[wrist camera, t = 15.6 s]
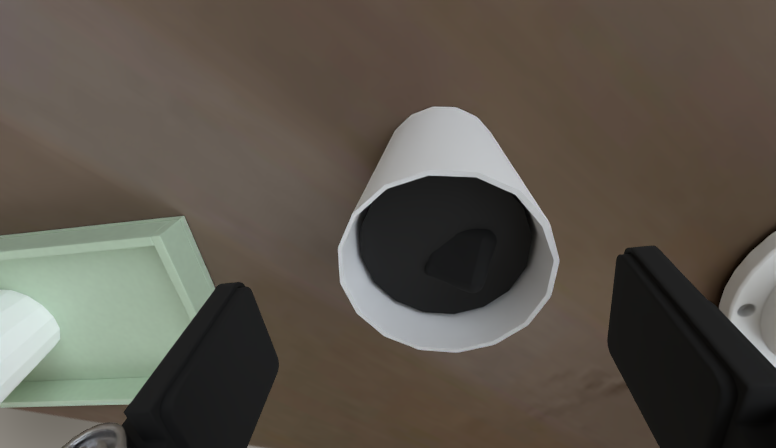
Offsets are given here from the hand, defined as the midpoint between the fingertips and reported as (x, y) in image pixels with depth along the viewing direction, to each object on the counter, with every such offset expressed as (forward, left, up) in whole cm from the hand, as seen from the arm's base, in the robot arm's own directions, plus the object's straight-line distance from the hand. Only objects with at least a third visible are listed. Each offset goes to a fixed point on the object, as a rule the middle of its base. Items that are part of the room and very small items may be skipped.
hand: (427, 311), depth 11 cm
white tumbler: (0, 0, -12) cm, 12 cm away
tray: (+26, +8, -12) cm, 29 cm away
